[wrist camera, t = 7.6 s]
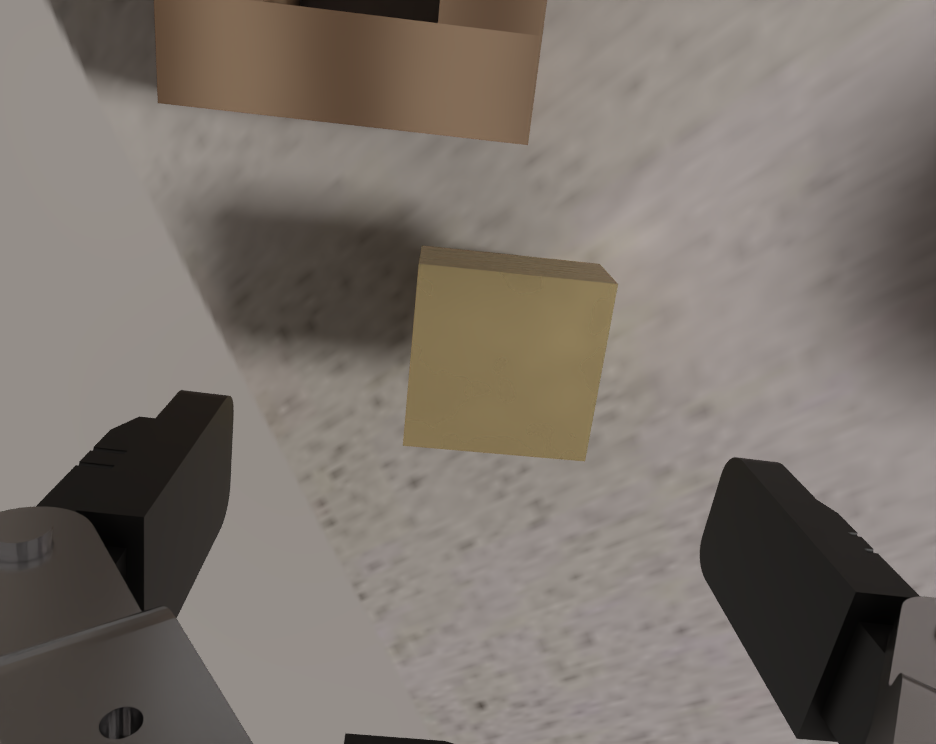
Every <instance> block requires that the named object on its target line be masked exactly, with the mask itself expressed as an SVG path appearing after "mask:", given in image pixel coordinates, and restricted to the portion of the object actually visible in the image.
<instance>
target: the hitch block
mask: <svg viewBox="0 0 936 744" xmlns="http://www.w3.org/2000/svg"><path fill="white" fill-rule="evenodd" d="M300 1H301V0H154V16H155V42H156V68H157V93H158V103H163V104H171V105H180V106H189V107H198V108H207V109H215V110H224V111H233V112H242V113H251V114H259V115H268V116H277V117H286V118H295V119H303V120H312V121H321V122H330V123H339V124H347V125H356V126H365V127H374V128H383V129H391V130H400V131H409V132H418V133H427V134H435V135H444V136H453V137H462V138H471V139H479V140H488V141H497V142H506V143H515V144H523V145H528V140H529V132H530V125H531V117H532V110H533V102H534V95H535V87H536V79H537V72H538V64H539V57H540V49H541V42H542V34H543V27H544V19H545V12H546V4H547V0H440V5H439V17H438V23H432V22H424V21H416V20H408V19H400V18H392V17H384V16H375V15H367V14H359V13H351V12H343V11H335V10H327V9H319V8H311V7H303V6H300Z"/></svg>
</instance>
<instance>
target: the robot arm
mask: <svg viewBox="0 0 936 744" xmlns="http://www.w3.org/2000/svg"><path fill="white" fill-rule="evenodd" d="M232 434H233V400H232V398H231V396H226V395H218V394H209V393H201V392H192V391H184V390H181V391H179V392H178V393H177V394H176V396H175V397H174V398H173V399H172V400H171V401H170V402H169V403H168V405H167V406H166V407H165V408H164V409H163V410H162V411H161V413H160V414H159V415H158V416H157V417H156V418H147V417H138V418H135V419H133V420H131V421H129V422H127V423H124V424H122V425H120V426H118V427H116V428H113V429H111V430H110V431H109V432H108V433H107V434H106V435H105V436H104V437H103V438H102V439H101V440H100V441H99V442H98V443H97V444H96V445H95V446H94V449H93V451H89V453H87V454H86V455H85V457H84V458H83V459H82V460H81V461H80V463H79V466H77V465H76V466H75V467H74V468H73V469H72V470H71V471H70V472H69V473H68V474H67V475H66V476H65V477H64V478H63V479H62V480H61V481H60V482H59V483H58V484H57V485H56V486H55V488H53V489H52V490H51V491H50V492H49V493H48V494H47V495H46V496H45V498H44V499H43V500H42V501H41V502H40V503H39V504H38V505H37V506H36V507H24V508H16V509H10V510H6V511H2V512H0V744H253V743H252V741H251V740H250V738H249V736H248V735H247V733H246V731H245V730H244V728H243V726H242V725H241V723H240V722H239V720H238V718H237V717H236V715H235V713H234V712H233V710H232V709H231V707H230V705H229V704H228V702H227V700H226V699H225V697H224V695H223V694H222V692H221V690H220V689H219V688H218V686H217V684H216V682H215V681H214V679H213V677H212V676H211V674H210V673H209V671H208V669H207V668H206V666H205V664H204V663H203V661H202V659H201V658H200V656H199V655H198V653H197V651H196V650H195V648H194V646H193V645H192V644H191V641H190V640H189V638H188V637H187V635H186V633H185V632H184V630H183V628H182V627H181V625H180V623H179V622H178V620H177V619H176V618H177V616H178V614H179V612H180V610H181V608H182V606H183V604H184V602H185V600H186V598H187V596H188V594H189V591H190V589H191V588H192V586H193V584H194V582H195V579H196V577H197V575H198V573H199V571H200V569H201V567H202V565H203V563H204V561H205V559H206V557H207V555H208V553H209V551H210V549H211V547H212V545H213V543H214V541H215V539H216V537H217V535H218V533H219V531H220V529H221V527H222V524H223V521H224V518H225V514H226V510H227V506H228V500H229V492H230V479H231V457H232ZM700 564H701V569H702V573H703V576H704V578H705V580H706V581H707V583H708V585H709V587H710V588H711V590H712V592H713V594H714V595H715V597H716V599H717V601H718V602H719V604H720V606H721V608H722V609H723V611H724V613H725V615H726V616H727V618H728V620H729V622H730V623H731V625H732V627H733V629H734V630H735V632H736V634H737V635H738V637H739V639H740V641H741V642H742V644H743V646H744V648H745V649H746V651H747V653H748V655H749V656H750V658H751V660H752V662H753V663H754V665H755V667H756V669H757V670H758V672H759V674H760V676H761V677H762V679H763V681H764V682H765V684H766V686H767V688H768V689H769V691H770V693H771V695H772V696H773V698H774V700H775V702H776V703H777V705H778V707H779V709H780V710H781V712H782V714H783V716H784V717H785V719H786V721H787V723H788V724H789V726H790V728H791V730H792V731H793V733H794V735H795V736H796V738H797V739H808V740H820V741H833V742H838V743H839V744H936V598H933V597H920V596H919V595H918V594H917V593H916V592H915V591H914V590H913V589H912V588H911V587H910V586H909V585H908V584H907V583H906V582H905V581H904V580H903V579H902V578H901V577H900V576H899V575H898V574H897V573H896V572H895V571H894V570H893V569H892V567H891V566H890V565H889V564H888V563H887V562H886V561H885V560H884V559H883V558H882V557H881V556H880V555H879V554H878V553H873V548H872V547H871V546H870V545H869V544H868V543H867V542H866V541H865V540H864V539H863V538H862V537H858V536H857V532H856V531H855V530H854V529H853V528H852V527H851V526H850V525H849V524H848V523H847V522H846V521H845V520H844V519H843V518H842V517H841V516H840V515H839V514H838V513H837V512H835V511H834V510H832V509H830V508H829V507H827V506H826V505H824V504H823V503H821V502H819V501H818V500H816V499H815V498H814V496H813V495H812V494H811V493H810V492H809V491H808V490H807V489H806V488H805V487H804V486H803V485H802V484H801V483H800V482H799V481H798V480H797V479H796V478H795V477H794V476H793V475H792V474H791V473H790V472H789V471H788V470H787V469H786V468H785V467H784V466H783V465H782V464H781V463H778V462H770V461H762V460H753V459H745V458H736V457H734V458H732V459H730V460H729V461H728V462H727V463H726V465H725V467H724V469H723V471H722V474H721V477H720V481H719V484H718V487H717V490H716V494H715V497H714V500H713V503H712V507H711V510H710V513H709V516H708V520H707V523H706V526H705V530H704V533H703V536H702V540H701V545H700ZM344 744H453V743H450V742H446V741H437V740H424V739H410V738H396V737H384V736H371V735H357V734H345V741H344Z"/></svg>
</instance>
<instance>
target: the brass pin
mask: <svg viewBox="0 0 936 744" xmlns="http://www.w3.org/2000/svg"><path fill="white" fill-rule="evenodd" d="M617 287H618V284H617V283H616V281H615V280H614V279H613V278H612V277H611V276H610V275H609V274H608V273H607V272H606V270H605V269H604V268H603V267H602V266H601V265H600V264H595V263H585V262H576V261H566V260H557V259H547V258H537V257H528V256H518V255H508V254H499V253H489V252H480V251H470V250H460V249H451V248H441V247H431V246H422V248H421V253H420V259H419V266H418V278H417V289H416V301H415V312H414V324H413V335H412V347H411V358H410V370H409V381H408V393H407V405H406V416H405V428H404V439H403V446H414V447H425V448H437V449H449V450H460V451H472V452H483V453H495V454H506V455H518V456H530V457H541V458H553V459H564V460H576V461H585V458H586V453H587V447H588V442H589V437H590V431H591V426H592V421H593V415H594V410H595V405H596V399H597V394H598V388H599V383H600V378H601V372H602V367H603V362H604V356H605V351H606V346H607V340H608V335H609V329H610V324H611V319H612V313H613V308H614V303H615V297H616V292H617Z"/></svg>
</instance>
